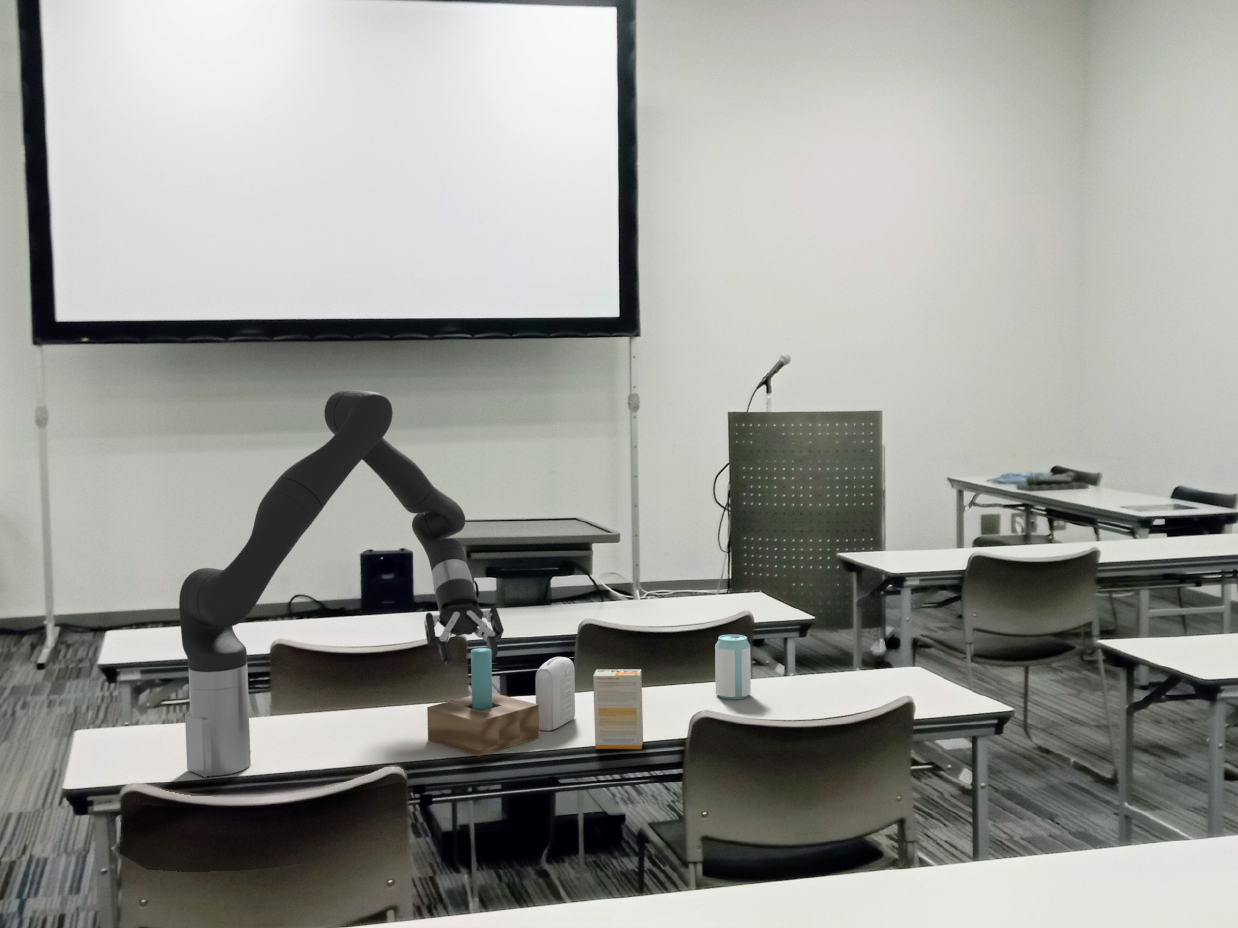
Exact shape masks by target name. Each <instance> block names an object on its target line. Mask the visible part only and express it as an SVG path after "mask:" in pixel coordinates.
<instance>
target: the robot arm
mask: <svg viewBox="0 0 1238 928" xmlns="http://www.w3.org/2000/svg"><path fill="white" fill-rule="evenodd" d="M323 414H324V421H325V424H326V426H327V428H328V429H329V430H330V432H331V433H332V434H333V436H332V437H331V438H330V440H329V441H327V442H326V443H325V444H324V445H323V446H321V447H320V448H318V449H316V450H315V451H313V452H312V453H310V454H308V455H306V456H305V457H303V458H302V459H300V460H299V461H297V462H296V463H294V464H293V465H291V466H290V467H288V469H286V470H285V471H284V472H283V473H282V474H281V475H280V476H279V477H278V478H277V479H276V481H275V482H274V483H273V484H272V486H271V487H270V488H269V489H268V490H267V492H266V493H265V495H264V496H263V498H262V499H261V501H260V503H259V505H258V507H257V511H256V514H255V518H254V521H253V527H252V530H251V534H250V536H249V539H248V540H247V542H246V544H245V546H243V548H242V549H241V551H240V552H239V553H238V554H237V556H236V557H235V558H234V559H233V560H232V561H231V562H230V563H229V564H228V566H226V567H225V568H224V569H219V568H212V567H204V568H203V567H202V568H199V569H196V570H193V572H192V571H191V573H190V574H189V575H188V576H186V577H185V579H184V580H183V582H182V586H181V588H180V591H179V592H180V593H179V598H178V599H179V601H178V605H179V606H178V610H179V623H180V635H181V645H182V649H183V651H184V652H183V653H184V654H185V655H186V658H187V666H188V667H187V668H188V686H189V687H188V690H189V694H188V695H189V712H186V713H185V714H184V720H185V723H184V724H185V725H184V726H185V727H184V728H185V745H186V746H185V749H186V769H187V770H186V771H189V772H191V773H193V772H194V774H196V775H198V776H200V775H201V776H200V777H202V776H203V777H202V778H208V777H207V776H209V777H212V776H213V777H214V776H224V775H230V774H231V775H232V774H235V773H238V772H241V771H244V770H246V769H247V768H249V767H250V766H251V755H252V754H251V752H252V751H251V738H250V737H251V735H250V734H251V732H250V712H249V711H250V709H249V708H250V705H249V703H250V702H249V680H248V679H249V676H248V674H249V673H248V651H247V647H246V646H245V645H244V643H243V642H241V640H239V638H238V637H237V635H236V634H235V631H234V628H233V627H234V626H237V625H239V624H241V622H243V621H244V620H245V619H246V618H247V617H248V616H249V615H250V614H251V612H252V611H253V609H254V607H256V605H257V603H258V601H259V599H260V598H261V596H262V595H263V593H264V592H265V590H266V588H267V586H268V585H269V583H270V582H271V579H272V578H273V576H274V575H275V573H276V572H277V570H278V568H279V567H280V566H281V565H282V563H283V562H284V560H285V559H286V558H287V556H288V555H289V553H291V551H292V550H293V548H294V547H295V545H296V544H297V543H298V541H299V540H300V539H301V537H302V536H303V534H305V532H307V530H308V529H309V528H310V526H311V525H312V523H314V521H315V520H316V519H317V517H318V516H319V515H320V514H321V512H322V511H323V509H324V508H325V506H326V505H327V503H328V502H329V501H330V499H331V498H332V496H333V495H334V494H335V493H336V491H338V489H339V488H340V486H341V485H342V484H343V483H344V481H345V480H346V479H347V478H348V477H349V475H350V474H351V473H352V471H353V470H354V469H355V467H356V466H357V465H358V464H359V463H361V461H363V462H364V463H365V464H366V465H367V466H368V467H370V469H371V470H372V471H373V472H374V473H375V474H376V475H377V476H378V477H379V478H380V479H381V480H382V482H383V483H385V485H386V486H387V487H388V488H389V490H390V491H391V493H392V494H393V495H394V496H395V497H396V498H397V500H398V502H399V503H400V504H401V505H402V507H404V509H405V510H406V511H407V512H408V513H411V514H415V515H414V516H413V518H412V523H411V529H412V531H413V534H414V535H415V537H416V539H417V540H418V541H419V543H420V545H421V547H422V548H423V549H424V552H425V553H426V556H427V559H428V562H429V566H430V570H431V575H432V584H433V585H432V586H433V592H434V595H435V598H436V604H437V608H438V613H439V614H435V615H434V614H433V613H431V612H427V613H426V614H425V618H424V623H423V624H424V629H425V630H424V631H425V636H426V638H425V639H426V644H427V646H428V647H437V648H438V652H439V655H440V659H441V662H442V663H445V665H450V664H451V661H452V657H451V653H450V647H449V643H448V641H449V640H450V638H452V637H451V636H452V635H455V636H456V637H459V636H463V635H467V636H469V635H473V634H474V635H475V636H477V637H478V638H480V639H483V640H484V641H485V642H486V647H487V648H488V649H491V661H493V660H494V661H495V659H496V657H497V656H498V653H499V647H498V644H497V640H498V641H499V640H501V639H502V636H503V634H504V626H503V624H502V621H501V618H500V615H499V612H498V609H497V607H495V606H491V608H490V609H489V610H482V609H481V608H480V605H479V601H478V597H477V594H476V593H477V592H476V590H475V585H474V581H473V576H472V573H471V571H470V569H469V566H468V562H467V559H466V554H465V551H464V548H463V545H462V543H461V542H460V541H459V540H457V539H453V538H450V537H451V536H454V535H456V534H458V533H460V532H461V531H462V530H463V529H464V528H465V525H466V515H465V512H464V510H463V509H462V507H461V506H460V505H459V504H458V503H457V502H456V501H455V500H453V499H452V498H451V497H450V496H448V495H446V494H445V493H443V492H442V491H440V490H439V489H438V488H436V487H435V486H434V485H433V483H432V482H431V481H430V480H429V479H428V477H427V475H426V474H425V473H424V472H423V471H422V469H421V468H420V467H419V466H418V465H417V464H416V463H415V462H414V461H413V460H412V459H411V458H410V457H408V456H407V455H405V454H404V453H403V452H402V451H400V450H399V449H397V448H396V447H395V446H393V445H392V444H391V442H389V441H388V440H387V439H385V438H384V436H385V435H386V434H387V432H388V431H389V428H390V426H391V423H392V419H393V414H394V412H393V406H392V403H391V401H390V400H389V398H387V397H386V395H384V394H381V393H379V392H375V391H368V390H357V389H346V390H339V391H337V392H334V393H333V394H331V396H329V398H328V399H327V400H326V403H325V406H324V413H323ZM483 618H484V619H485V620H486V621H487V622H488V623H490V626H491V628H490V627H489V626H488V624H487V623H486V622H485V621H484V620H483ZM437 623H438V624H440V625H441V626H442V627H444V629H443V631H442V633H441V634H440V636H437V635H436V631H435V628H436V626H437V625H438V624H437Z"/></svg>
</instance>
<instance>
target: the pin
mask: <svg viewBox="0 0 1238 928" xmlns="http://www.w3.org/2000/svg"><path fill="white" fill-rule="evenodd" d="M492 664H493V663H492V660H491V649H488V648H486V647H479V648H473V649H471V650H470V667H471V668H470V669H471V672H470V673H471V675H470V676H471V678H470V679H471V696H472V709H476V710H479V711H484V710H487V709H491V708H492V693H493V673H492V670H493V669H492V667H493V666H492Z"/></svg>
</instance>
